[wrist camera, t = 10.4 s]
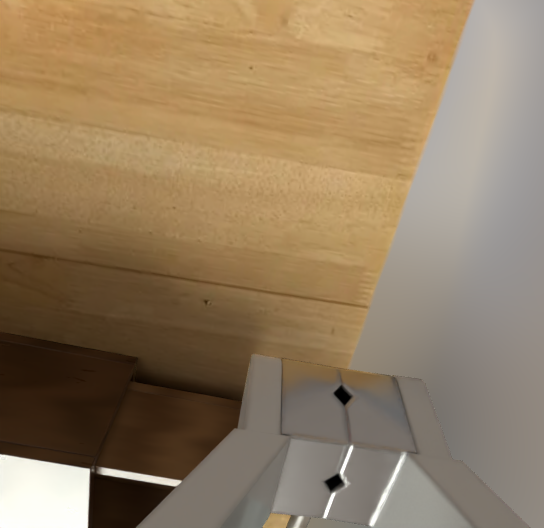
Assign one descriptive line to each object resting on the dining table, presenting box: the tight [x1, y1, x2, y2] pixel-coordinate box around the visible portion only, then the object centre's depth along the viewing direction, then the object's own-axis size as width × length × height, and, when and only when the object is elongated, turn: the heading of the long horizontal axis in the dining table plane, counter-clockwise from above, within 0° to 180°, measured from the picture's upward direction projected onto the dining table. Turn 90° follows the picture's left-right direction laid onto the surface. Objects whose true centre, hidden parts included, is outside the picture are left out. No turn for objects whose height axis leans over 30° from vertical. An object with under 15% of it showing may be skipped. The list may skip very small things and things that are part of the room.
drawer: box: [92, 381, 311, 528], centre depth 35 cm, size 20×13×8 cm
